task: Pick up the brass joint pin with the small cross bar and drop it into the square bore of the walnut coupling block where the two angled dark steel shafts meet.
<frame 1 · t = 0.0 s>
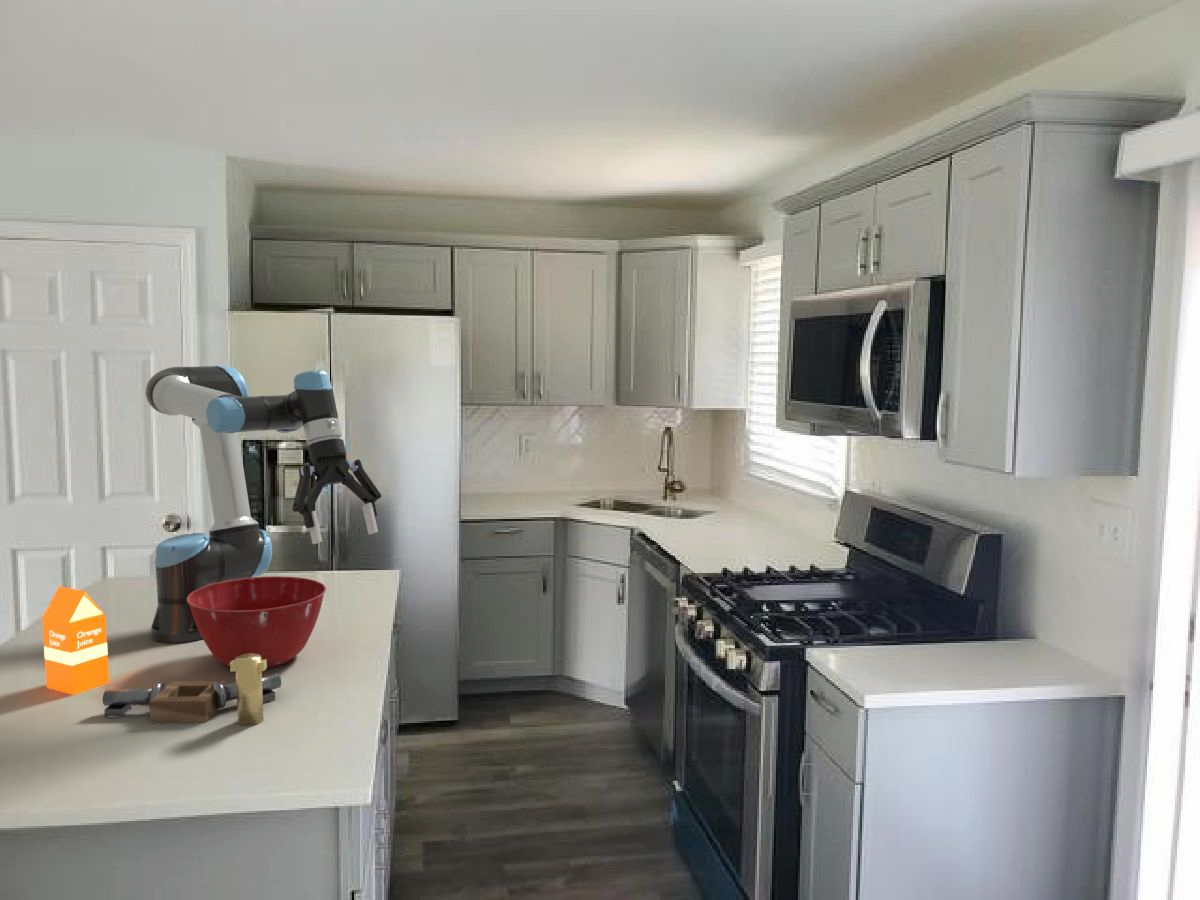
hand: (346, 538, 193), 28 cm above the counter, tool tilted 20°, fingers open, 13 cm apart
mixing bowl: (261, 660, 200), on the counter
coupling block: (189, 711, 171), on the counter
orange juice: (78, 686, 184), on the counter
shaft a: (162, 712, 171), on the counter
shaft b: (216, 711, 171), on the counter
joint pin: (250, 721, 166), on the counter
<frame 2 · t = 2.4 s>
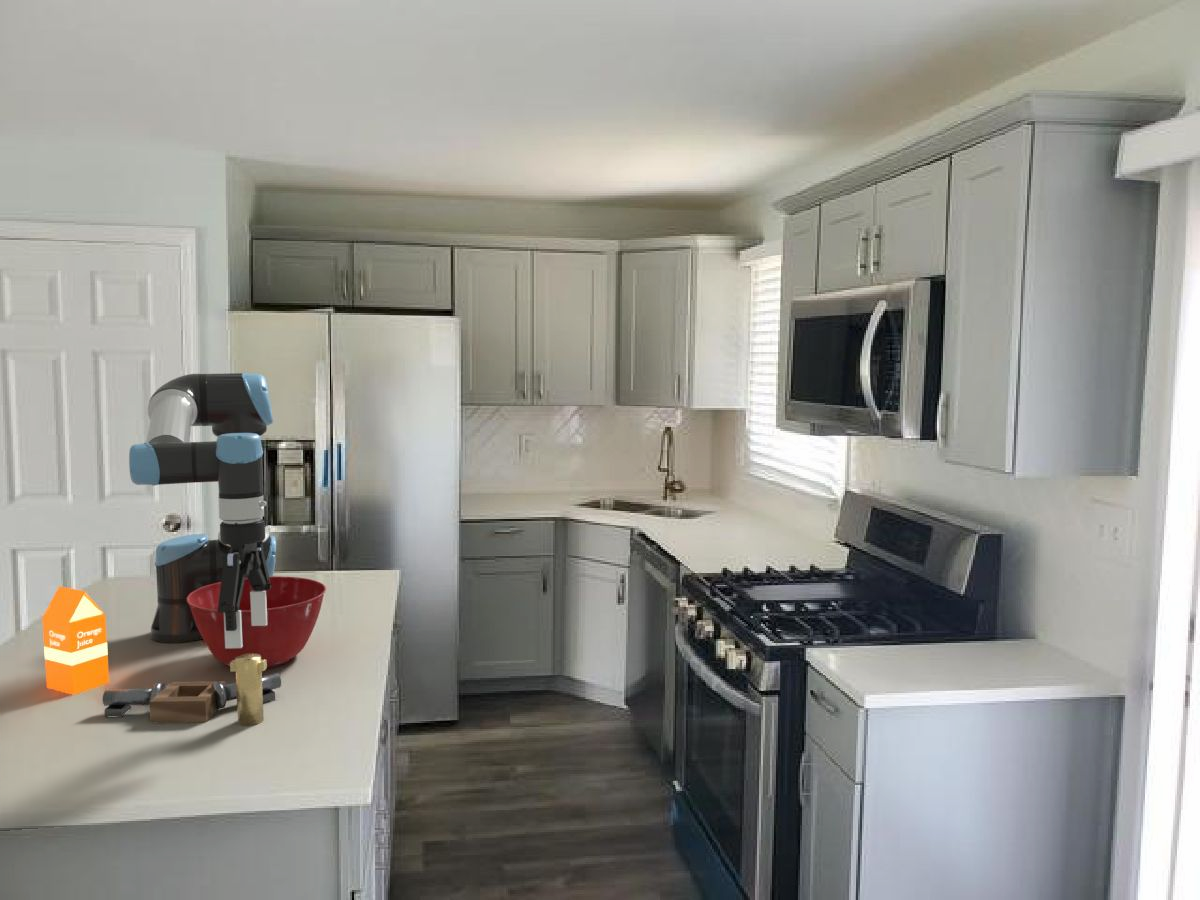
hand: (247, 636, 165), 16 cm above the counter, tool pointing down, fingers open, 13 cm apart
nothing on the counter moved.
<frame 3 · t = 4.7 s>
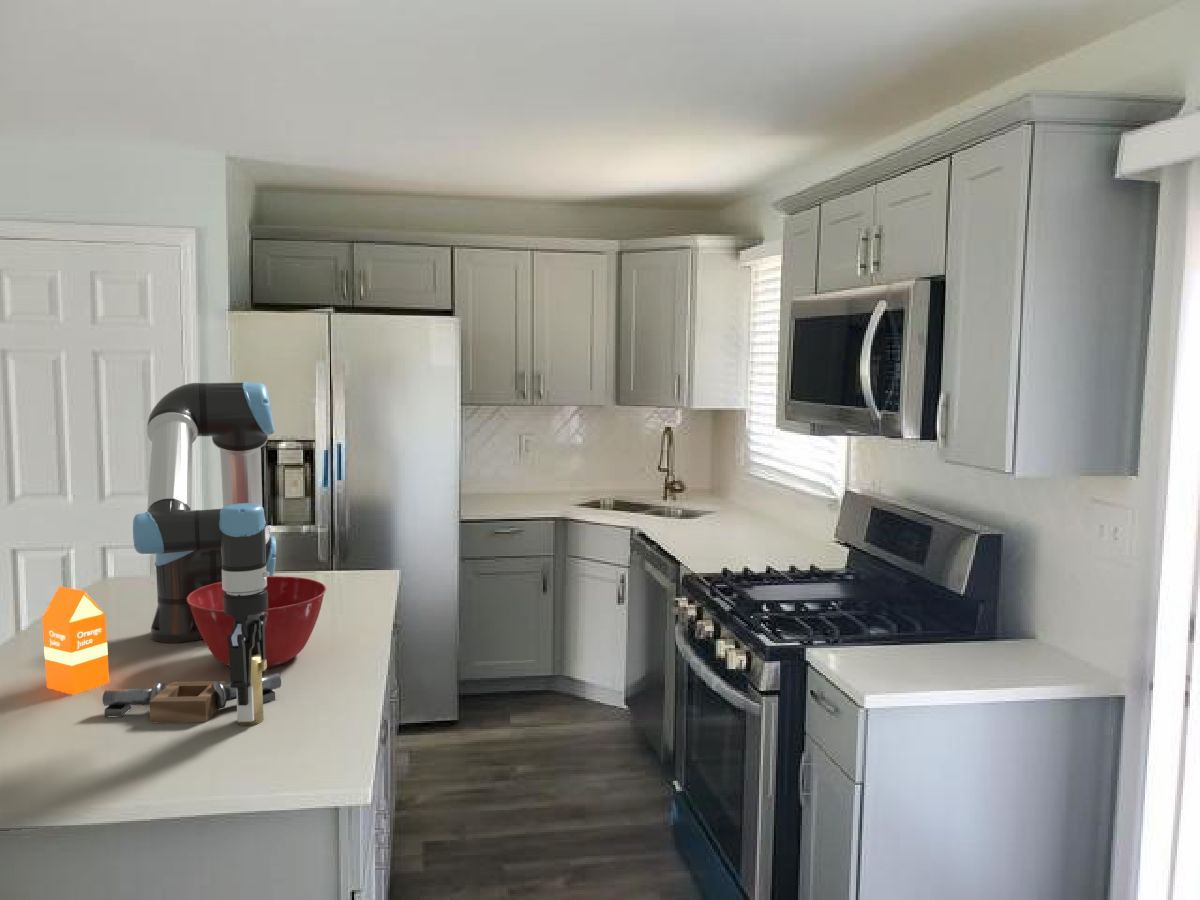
hand: (250, 714, 166), 1 cm above the counter, tool pointing down, fingers closed on joint pin, 4 cm apart
joint pin: (250, 720, 167), on the counter, touching gripper
everything else where it was.
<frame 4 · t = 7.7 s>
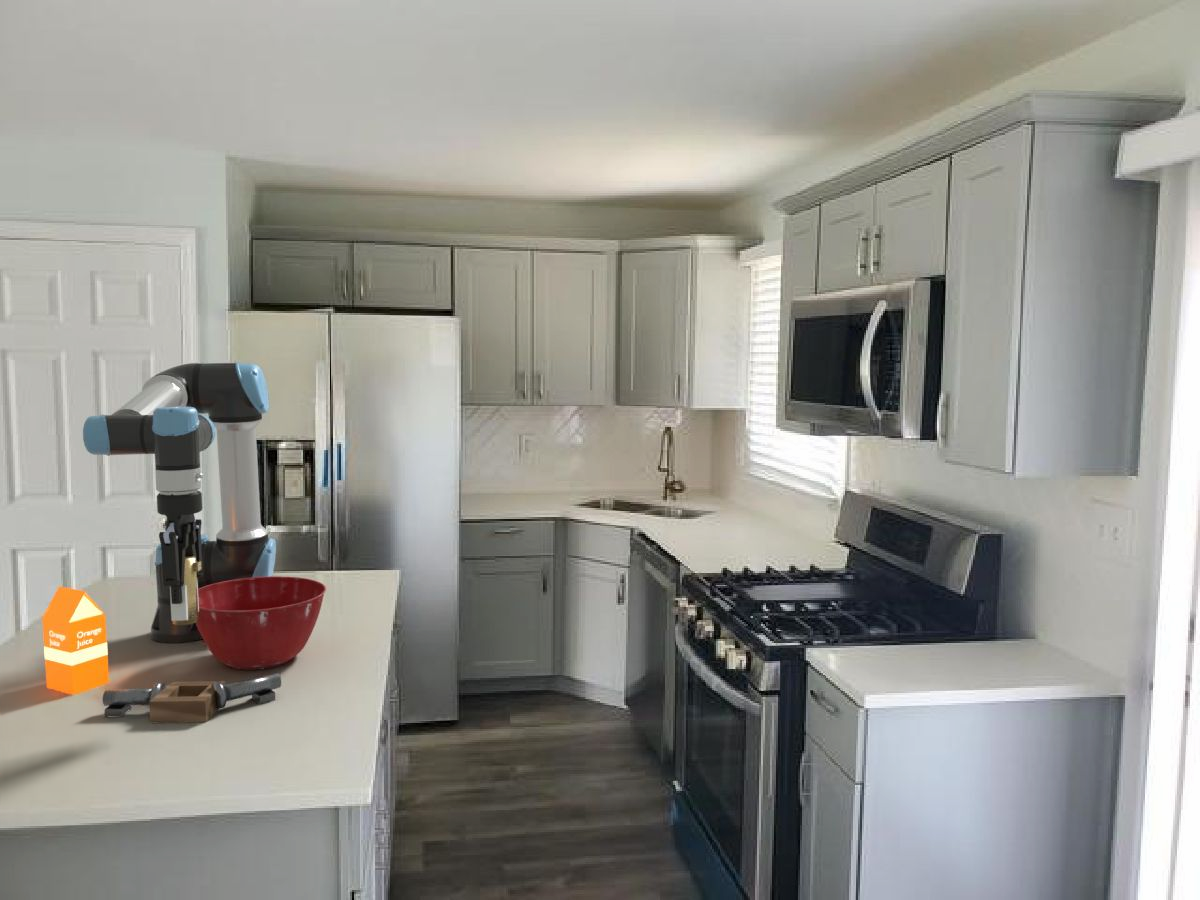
hand: (185, 615, 169), 18 cm above the counter, tool pointing down, fingers closed on joint pin, 4 cm apart
joint pin: (185, 621, 169), point 17 cm above the counter, touching gripper
everything else where it was.
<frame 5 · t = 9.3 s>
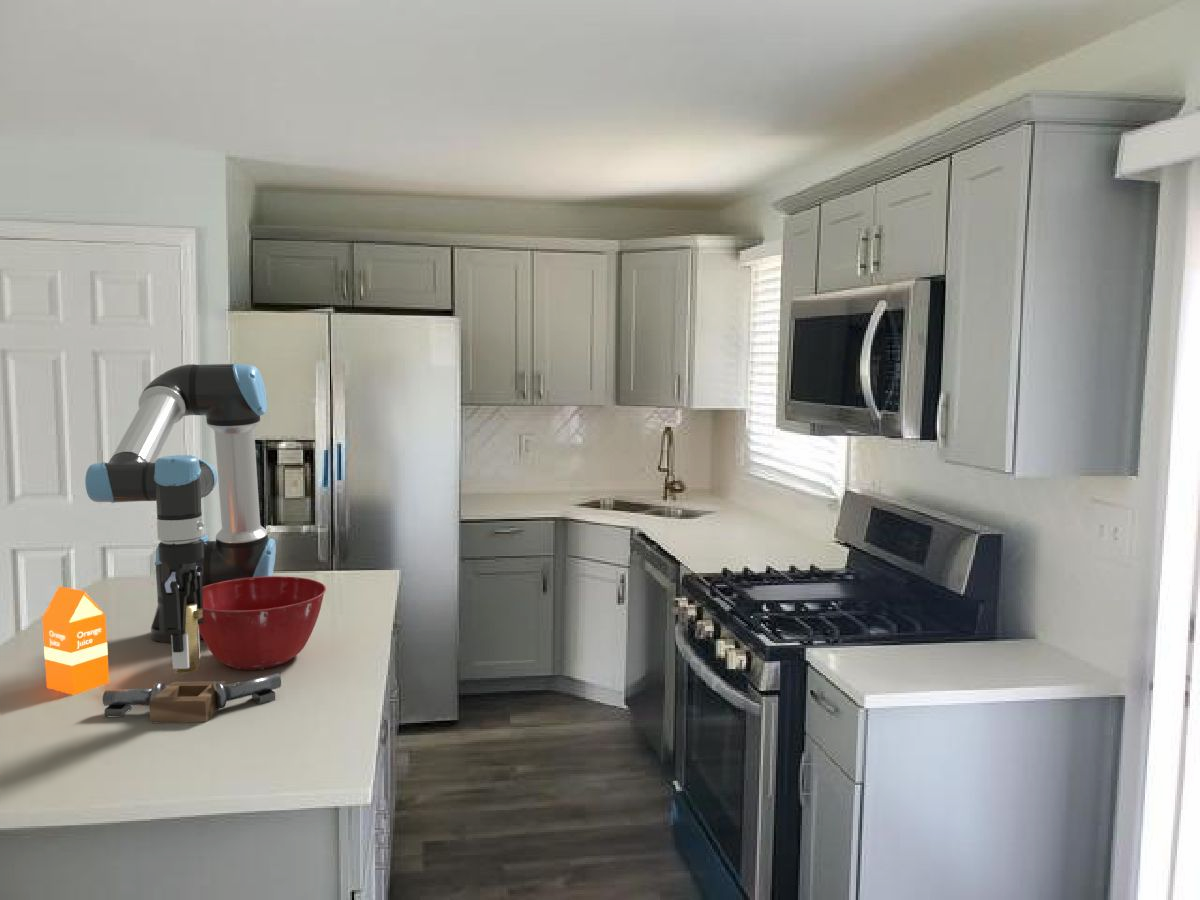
hand: (186, 663, 170), 9 cm above the counter, tool pointing down, fingers closed on joint pin, 4 cm apart
joint pin: (186, 668, 170), point 8 cm above the counter, touching gripper
everything else where it was.
when the fingers open (6 cm above the counter, at t = 10.7 s): joint pin drops 3 cm, resting in coupling block.
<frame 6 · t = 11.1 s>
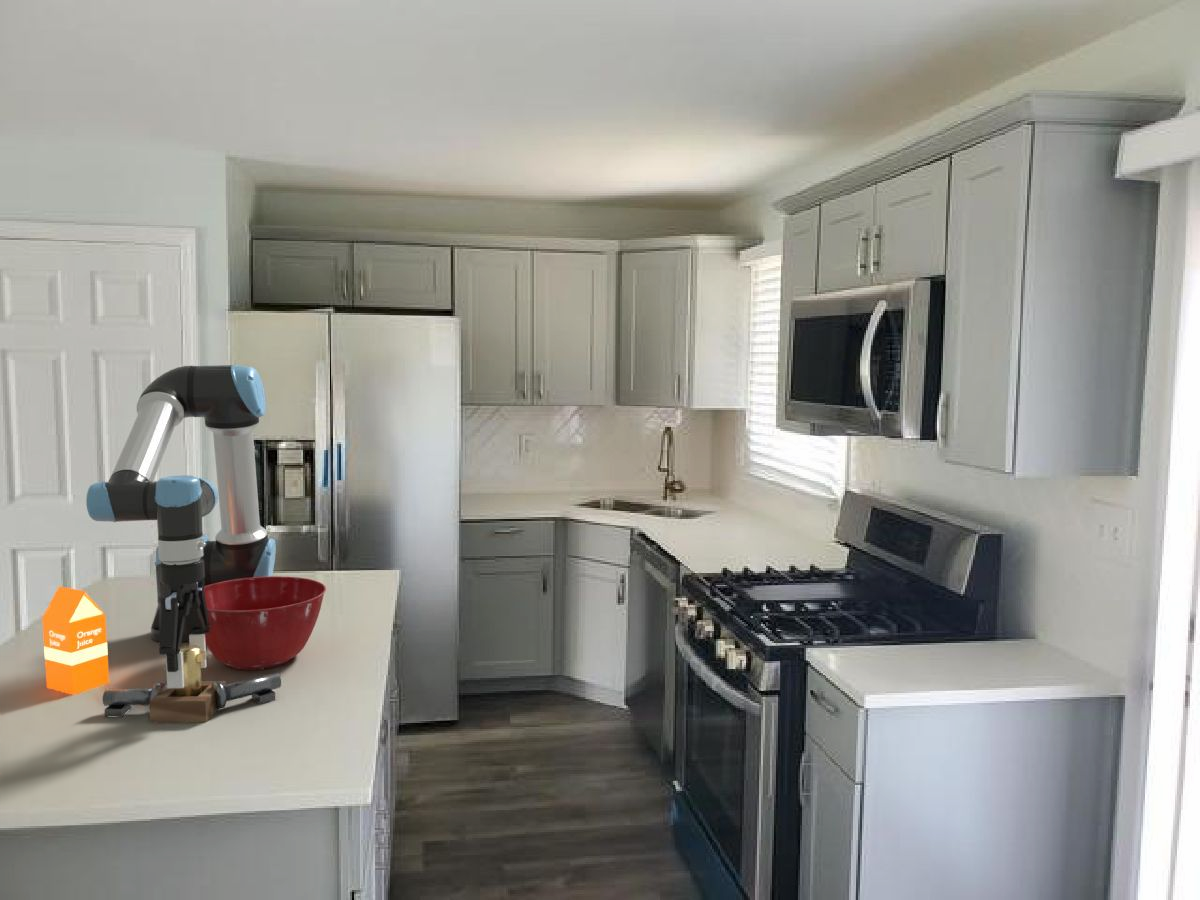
hand: (187, 677, 170), 7 cm above the counter, tool pointing down, fingers open, 10 cm apart
joint pin: (189, 710, 171), resting in coupling block
everything else where it was.
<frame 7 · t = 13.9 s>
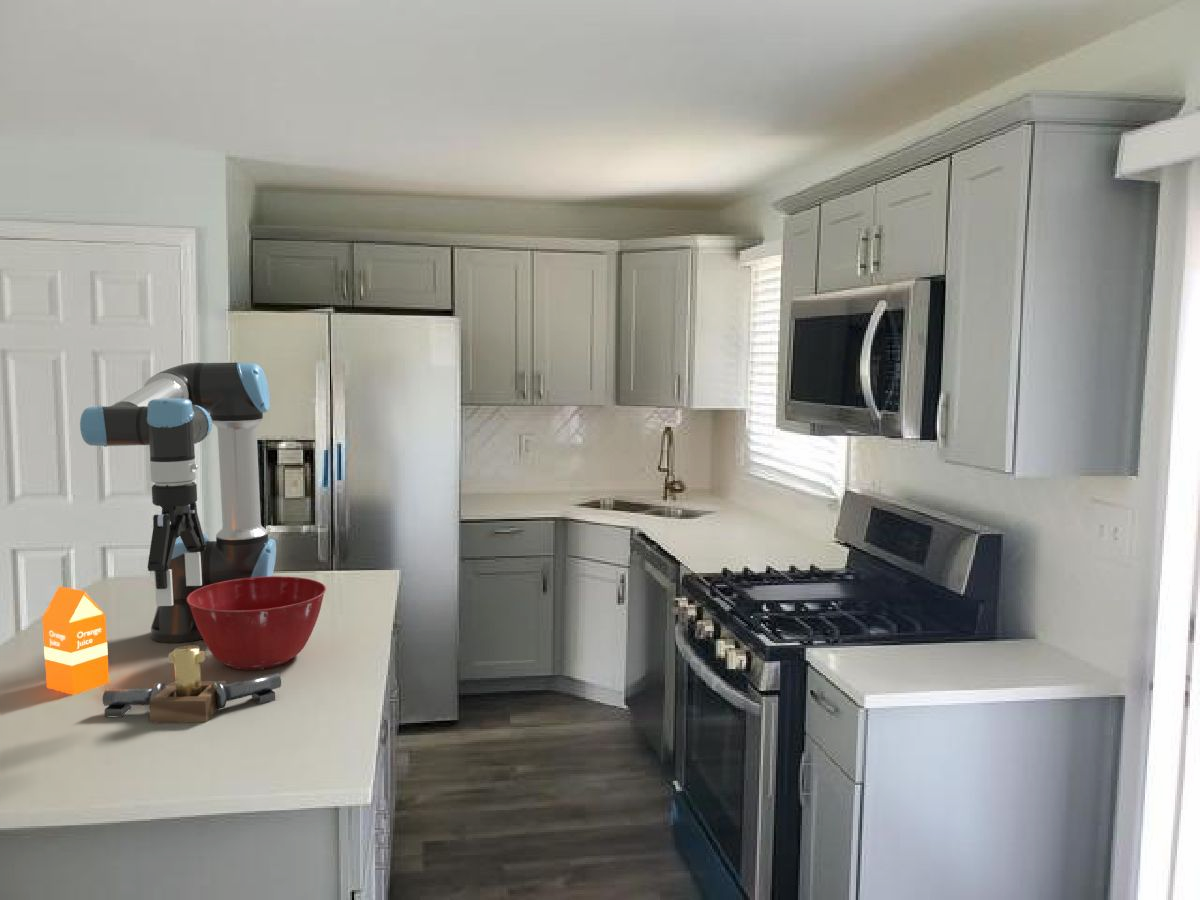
hand: (180, 595, 170), 22 cm above the counter, tool pointing down, fingers open, 13 cm apart
nothing on the counter moved.
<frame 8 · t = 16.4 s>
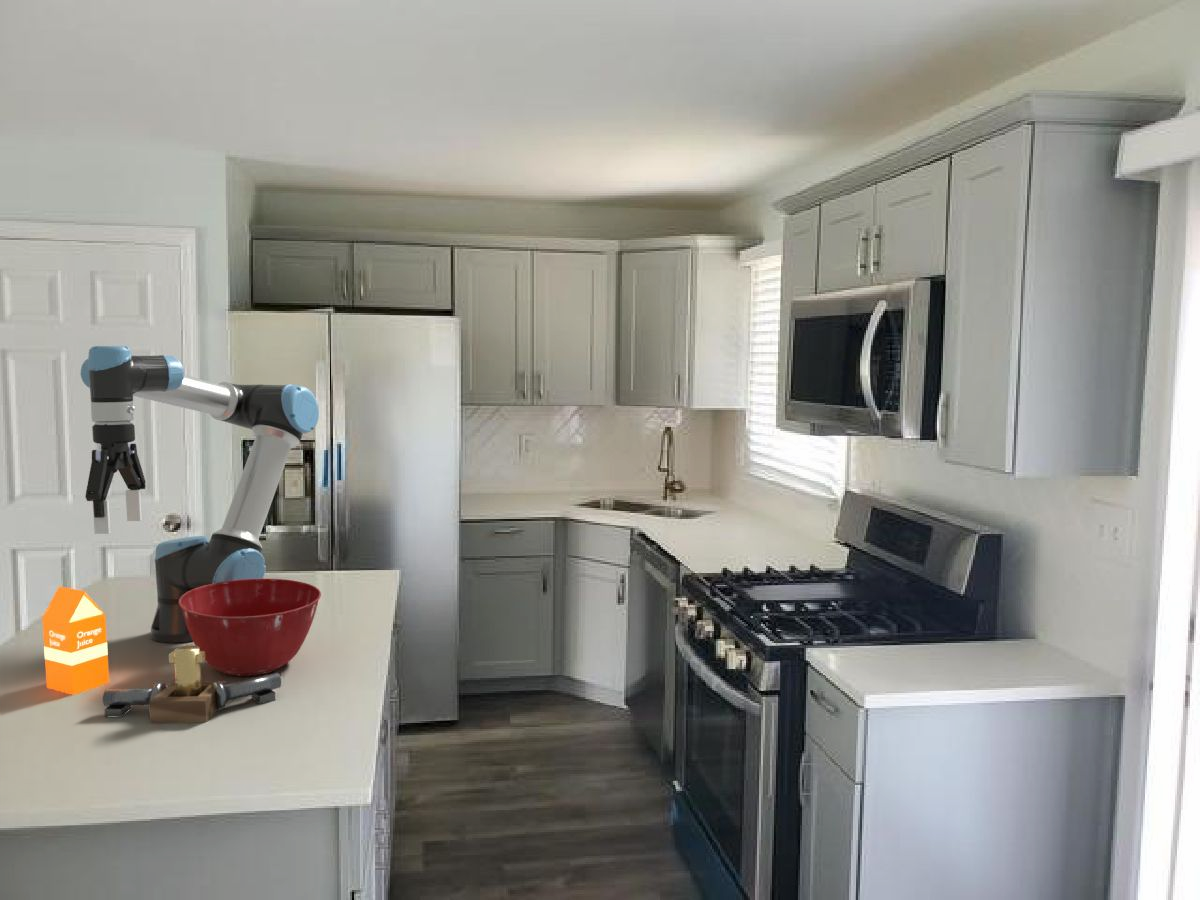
hand: (119, 527, 185), 32 cm above the counter, tool pointing down, fingers open, 13 cm apart
mixing bowl: (252, 665, 196), on the counter, touching arm
everything else where it was.
at the end: joint pin 0.3 cm off-centre on the coupling block, point 0.0 cm above the coupling block's base; joint pin tilted 0°; the gripper is holding nothing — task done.
